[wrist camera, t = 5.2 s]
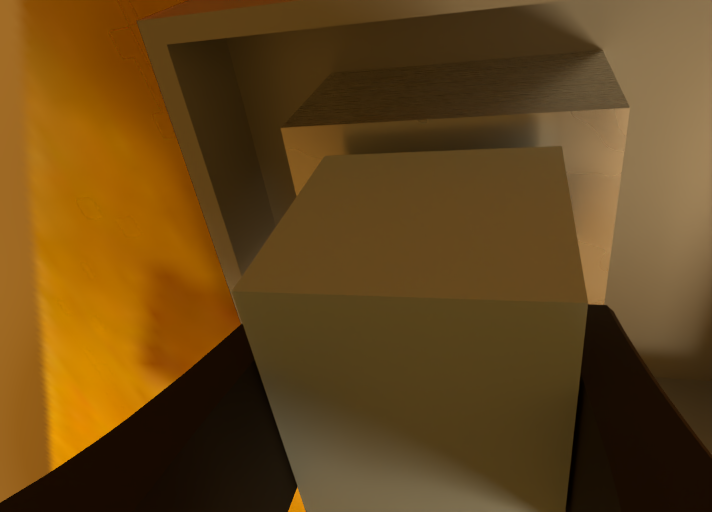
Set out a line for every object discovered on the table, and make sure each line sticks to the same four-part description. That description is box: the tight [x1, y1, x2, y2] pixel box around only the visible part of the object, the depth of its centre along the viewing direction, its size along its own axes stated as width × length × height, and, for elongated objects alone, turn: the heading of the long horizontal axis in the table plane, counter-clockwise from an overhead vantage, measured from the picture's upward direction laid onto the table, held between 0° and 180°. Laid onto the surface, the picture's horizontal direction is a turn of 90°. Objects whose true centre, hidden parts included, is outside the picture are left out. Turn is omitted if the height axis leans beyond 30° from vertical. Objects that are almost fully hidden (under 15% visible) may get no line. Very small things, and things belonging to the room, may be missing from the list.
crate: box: [137, 0, 712, 454], centre depth 13 cm, size 14×12×3 cm
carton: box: [232, 146, 588, 512], centre depth 9 cm, size 4×6×4 cm, turn 9°
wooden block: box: [281, 50, 630, 305], centre depth 12 cm, size 6×6×4 cm
